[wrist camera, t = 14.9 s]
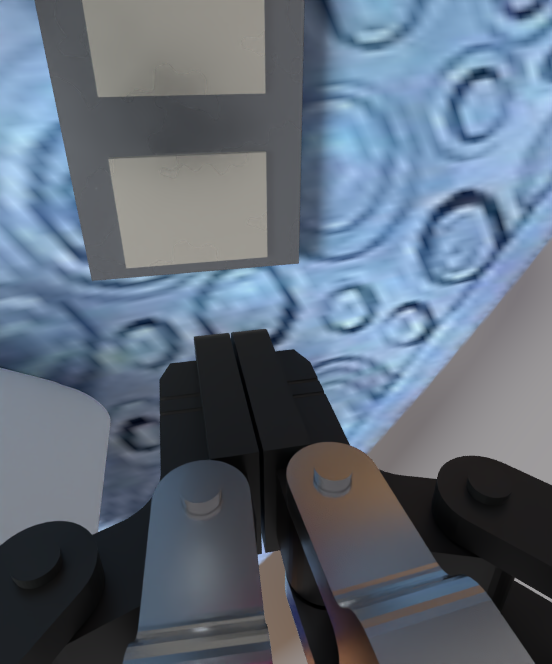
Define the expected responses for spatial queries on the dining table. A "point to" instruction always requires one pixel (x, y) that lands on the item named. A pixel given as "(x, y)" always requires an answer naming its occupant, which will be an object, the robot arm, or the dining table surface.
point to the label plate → (180, 130)
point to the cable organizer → (49, 454)
